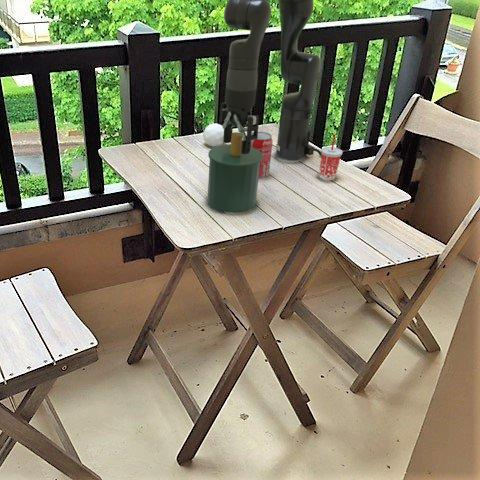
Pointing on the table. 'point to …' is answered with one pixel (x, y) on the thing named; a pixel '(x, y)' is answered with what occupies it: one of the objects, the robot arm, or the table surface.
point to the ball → (214, 134)
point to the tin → (232, 187)
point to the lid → (235, 154)
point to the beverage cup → (329, 161)
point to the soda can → (263, 151)
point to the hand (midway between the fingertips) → (236, 147)
